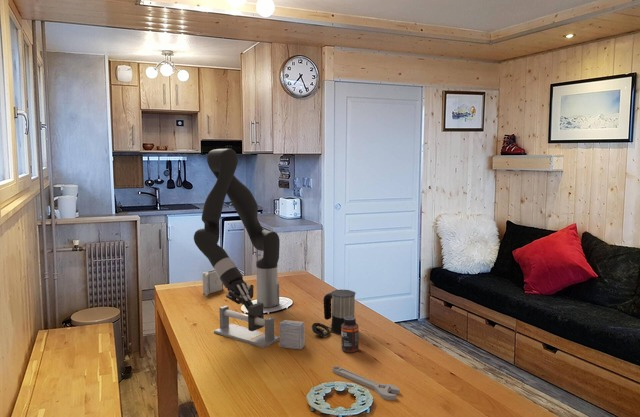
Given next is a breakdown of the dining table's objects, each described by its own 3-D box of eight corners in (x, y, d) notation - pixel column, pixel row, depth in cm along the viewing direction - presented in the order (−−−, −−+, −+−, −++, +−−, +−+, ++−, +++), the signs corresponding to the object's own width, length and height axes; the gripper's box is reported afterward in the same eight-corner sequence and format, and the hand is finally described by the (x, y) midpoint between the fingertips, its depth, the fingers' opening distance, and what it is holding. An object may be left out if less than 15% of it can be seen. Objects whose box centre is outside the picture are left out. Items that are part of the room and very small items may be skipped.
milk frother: (359, 328, 197) (359, 290, 195) (343, 342, 183) (343, 302, 181) (325, 323, 203) (325, 286, 201) (307, 336, 189) (307, 297, 187)
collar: (248, 330, 183) (247, 306, 182) (259, 325, 188) (259, 302, 187) (252, 331, 182) (252, 307, 181) (263, 326, 187) (263, 303, 186)
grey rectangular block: (206, 296, 239) (205, 275, 238) (197, 295, 242) (196, 274, 240) (224, 289, 252) (223, 269, 250) (215, 287, 254) (214, 268, 253)
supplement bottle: (358, 346, 178) (359, 315, 177) (358, 353, 173) (358, 321, 171) (341, 346, 179) (341, 314, 178) (340, 352, 173) (340, 320, 172)
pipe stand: (213, 332, 192) (213, 309, 191) (231, 325, 200) (230, 303, 198) (263, 347, 178) (263, 322, 177) (280, 339, 185) (279, 315, 184)
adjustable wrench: (330, 372, 159) (330, 367, 159) (345, 367, 163) (345, 361, 163) (389, 402, 140) (389, 396, 140) (405, 395, 144) (405, 389, 144)
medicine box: (305, 345, 180) (304, 321, 179) (300, 350, 176) (300, 325, 175) (284, 342, 182) (284, 319, 181) (279, 347, 178) (279, 323, 177)
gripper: (219, 270, 184) (244, 309, 178) (245, 263, 194) (270, 300, 189) (209, 282, 188) (234, 321, 182) (235, 275, 198) (259, 311, 192)
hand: (252, 310), depth 185 cm, fingers closed
